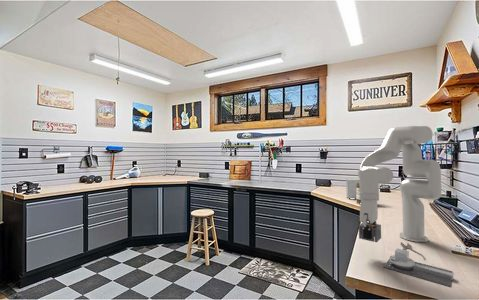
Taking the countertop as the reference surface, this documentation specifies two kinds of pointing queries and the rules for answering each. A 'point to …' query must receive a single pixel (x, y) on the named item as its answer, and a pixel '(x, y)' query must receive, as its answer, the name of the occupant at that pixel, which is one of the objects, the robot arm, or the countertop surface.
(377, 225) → the socket
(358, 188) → the wooden container
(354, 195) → the hard drive box
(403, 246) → the pliers
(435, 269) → the lever switch plate
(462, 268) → the countertop surface
